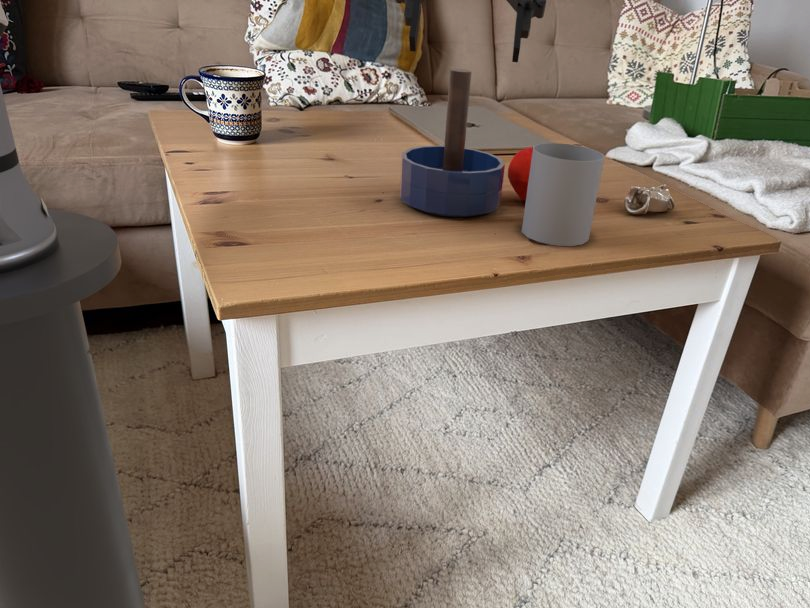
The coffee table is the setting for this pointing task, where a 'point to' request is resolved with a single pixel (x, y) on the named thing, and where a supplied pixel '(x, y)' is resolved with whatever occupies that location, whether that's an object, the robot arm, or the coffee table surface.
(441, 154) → the bowl
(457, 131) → the cylinder with round base
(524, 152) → the apple
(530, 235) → the cup
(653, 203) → the ornament
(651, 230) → the coffee table surface
